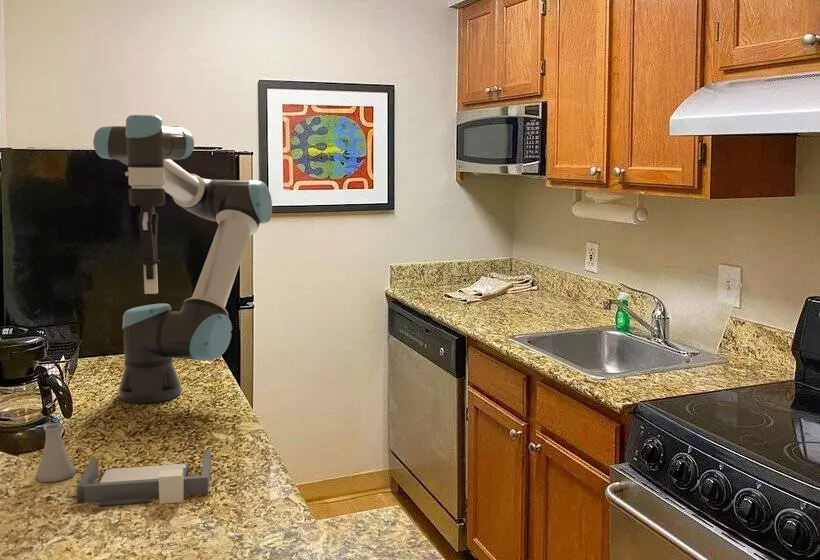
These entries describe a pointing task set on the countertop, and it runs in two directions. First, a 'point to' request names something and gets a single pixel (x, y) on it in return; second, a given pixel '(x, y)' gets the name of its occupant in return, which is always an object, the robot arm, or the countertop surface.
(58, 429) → the flask
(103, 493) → the dock
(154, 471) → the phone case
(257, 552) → the countertop surface
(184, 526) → the countertop surface
